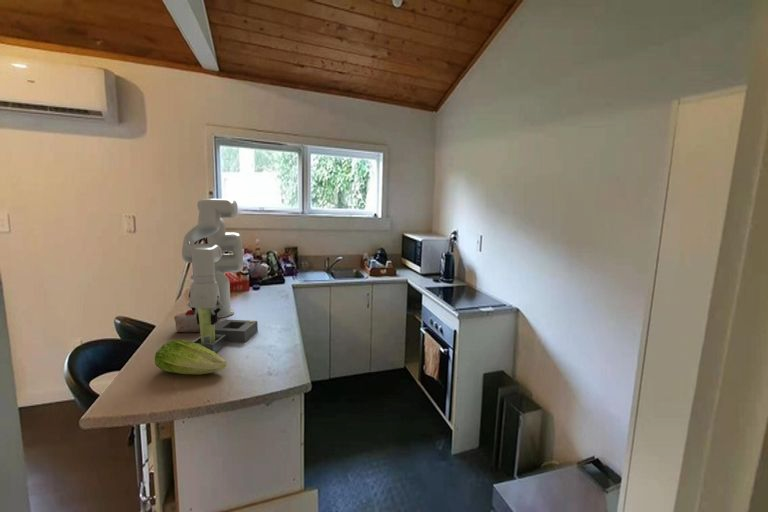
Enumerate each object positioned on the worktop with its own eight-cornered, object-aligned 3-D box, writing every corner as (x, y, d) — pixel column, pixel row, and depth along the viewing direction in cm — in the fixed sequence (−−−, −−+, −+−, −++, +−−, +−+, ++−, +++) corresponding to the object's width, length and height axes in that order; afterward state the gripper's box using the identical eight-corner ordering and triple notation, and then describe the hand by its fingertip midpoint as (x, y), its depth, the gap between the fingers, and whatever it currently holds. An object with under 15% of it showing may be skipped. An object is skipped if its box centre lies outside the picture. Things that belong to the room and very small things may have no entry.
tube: (206, 341, 146) (203, 296, 142) (218, 342, 146) (216, 296, 142) (198, 347, 140) (196, 300, 137) (211, 348, 140) (209, 300, 137)
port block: (210, 341, 150) (209, 328, 149) (225, 329, 163) (225, 318, 162) (244, 342, 149) (244, 330, 148) (257, 331, 162) (257, 320, 161)
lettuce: (208, 372, 113) (227, 338, 122) (141, 361, 117) (164, 328, 125) (222, 389, 121) (239, 356, 130) (159, 378, 125) (179, 346, 134)
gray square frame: (189, 353, 138) (188, 344, 137) (204, 342, 148) (203, 333, 147) (213, 354, 137) (212, 345, 136) (226, 344, 147) (226, 334, 147)
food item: (172, 334, 157) (171, 312, 155) (180, 327, 165) (179, 307, 163) (205, 333, 158) (204, 312, 157) (211, 327, 166) (210, 306, 165)
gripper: (177, 280, 135) (180, 325, 138) (220, 282, 134) (223, 327, 137) (189, 275, 142) (192, 319, 146) (230, 277, 141) (232, 320, 145)
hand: (207, 322), depth 141 cm, fingers closed on tube, 4 cm apart
